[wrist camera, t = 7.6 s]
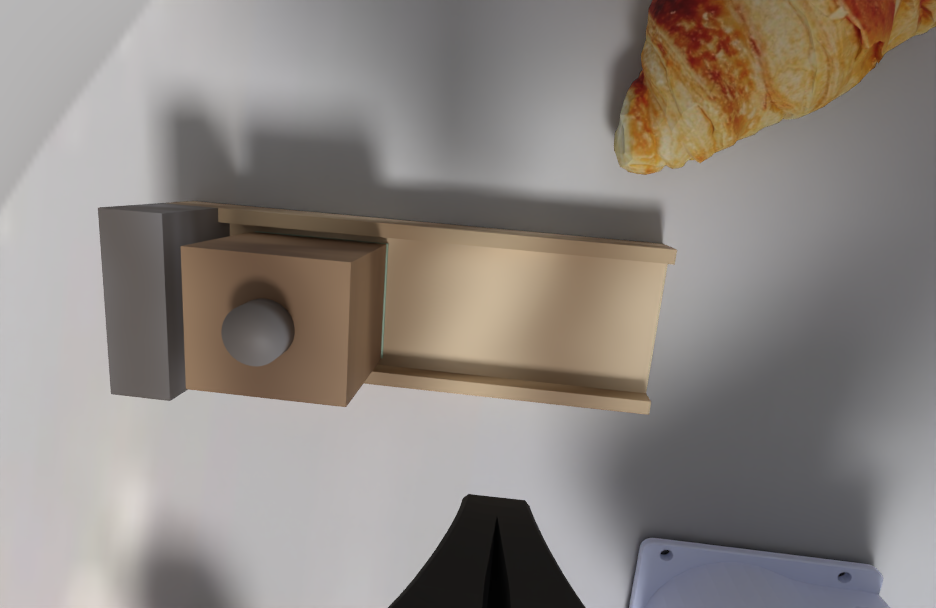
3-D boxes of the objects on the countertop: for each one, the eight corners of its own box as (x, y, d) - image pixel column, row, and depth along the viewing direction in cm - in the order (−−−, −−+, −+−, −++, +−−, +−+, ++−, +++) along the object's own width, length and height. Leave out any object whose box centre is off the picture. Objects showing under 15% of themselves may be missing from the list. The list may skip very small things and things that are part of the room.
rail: (663, 243, 20) (709, 264, 15) (637, 395, 22) (673, 458, 17) (192, 201, 21) (98, 207, 17) (197, 348, 23) (110, 394, 18)
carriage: (385, 244, 20) (341, 266, 15) (380, 360, 21) (337, 418, 16) (251, 231, 20) (163, 249, 15) (252, 346, 21) (170, 399, 16)
